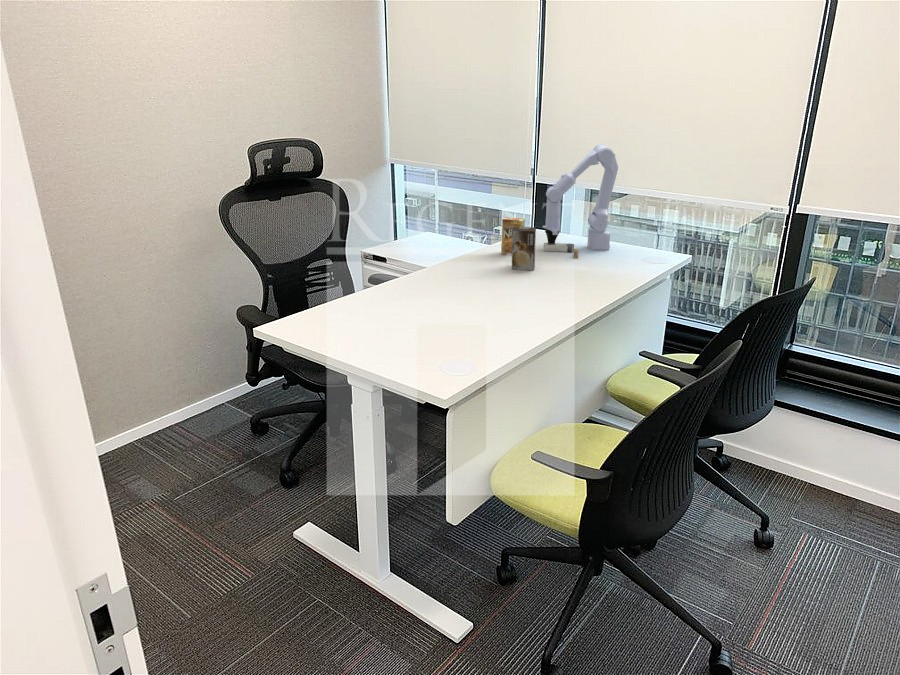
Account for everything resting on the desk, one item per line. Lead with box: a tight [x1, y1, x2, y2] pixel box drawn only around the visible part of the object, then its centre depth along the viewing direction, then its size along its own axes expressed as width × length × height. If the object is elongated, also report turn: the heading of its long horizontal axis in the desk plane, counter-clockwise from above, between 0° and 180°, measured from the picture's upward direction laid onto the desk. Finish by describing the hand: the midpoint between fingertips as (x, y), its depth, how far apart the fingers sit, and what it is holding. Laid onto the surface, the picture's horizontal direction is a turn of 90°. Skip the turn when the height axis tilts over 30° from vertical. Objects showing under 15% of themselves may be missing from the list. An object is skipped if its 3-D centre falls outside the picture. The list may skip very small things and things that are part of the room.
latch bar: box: [543, 242, 575, 253], centre depth 302 cm, size 13×4×3 cm, turn 81°
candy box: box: [500, 216, 526, 255], centre depth 300 cm, size 9×4×15 cm, turn 70°
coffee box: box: [511, 226, 537, 271], centre depth 282 cm, size 9×6×16 cm
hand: (551, 246), depth 305 cm, fingers closed
